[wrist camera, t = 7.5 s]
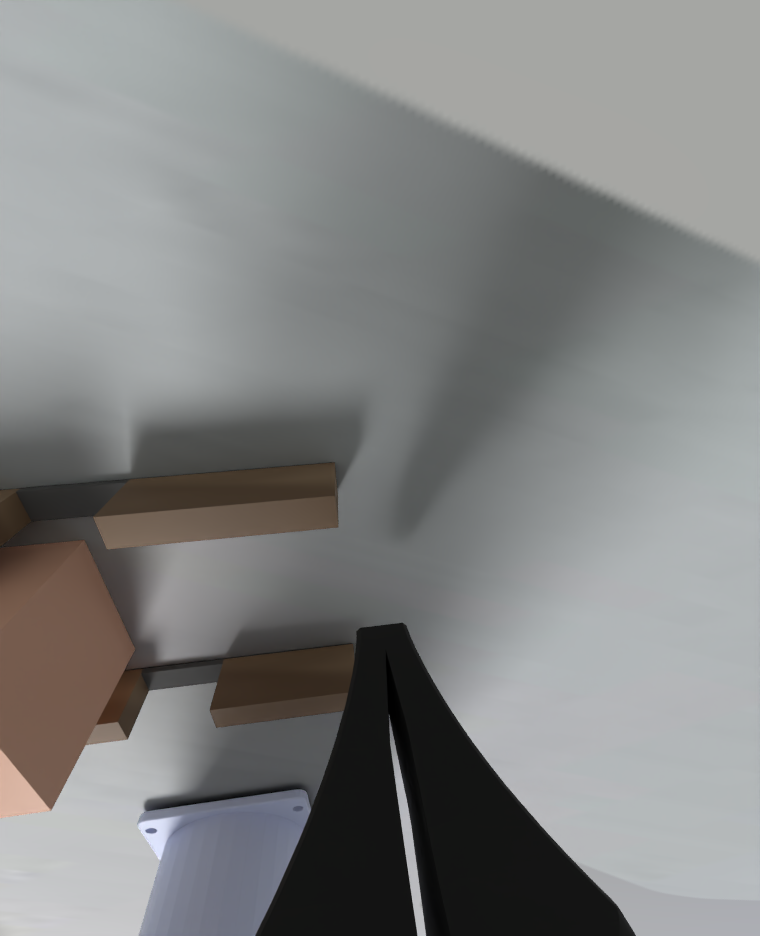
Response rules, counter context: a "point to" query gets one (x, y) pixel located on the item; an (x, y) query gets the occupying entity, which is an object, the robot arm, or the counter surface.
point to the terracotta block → (52, 667)
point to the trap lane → (194, 519)
